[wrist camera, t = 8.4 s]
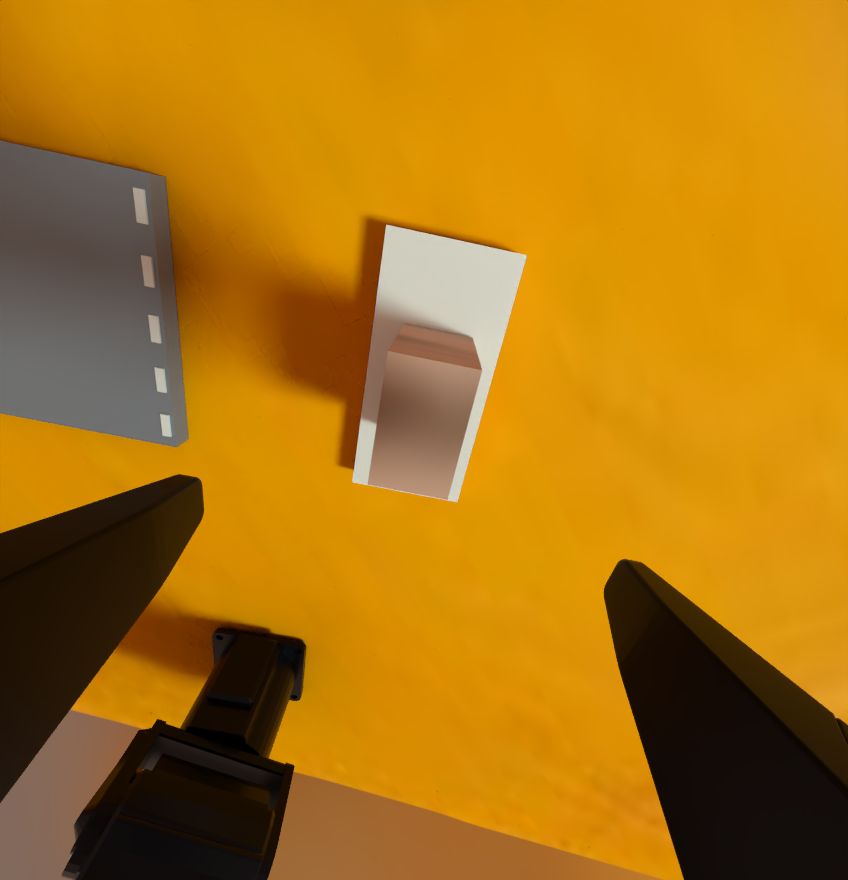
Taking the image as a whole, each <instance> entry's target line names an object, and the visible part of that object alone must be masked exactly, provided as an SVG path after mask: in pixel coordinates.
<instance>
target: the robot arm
mask: <svg viewBox="0 0 848 880" xmlns="http://www.w3.org/2000/svg"><path fill="white" fill-rule="evenodd" d="M203 514H204V502H203V489H202V482H201V480H200V479H199V478H197V477H192V476H187V475H181V474H179V475H175V476H172V477H169V478H166V479H163V480H160V481H157V482H154V483H151V484H148V485H145V486H142V487H139V488H135V489H132V490H129V491H126V492H123V493H120V494H117V495H114V496H111V497H108V498H105V499H102V500H99V501H96V502H93V503H90V504H87V505H84V506H81V507H78V508H75V509H72V510H69V511H66V512H63V513H60V514H57V515H54V516H51V517H48V518H45V519H42V520H39V521H36V522H33V523H30V524H27V525H24V526H21V527H18V528H15V529H12V530H9V531H6V532H3V533H0V803H1V801H2V800H3V798H4V797H5V796H6V795H7V793H8V792H9V791H10V789H11V788H12V787H13V785H14V784H15V783H16V781H17V780H18V779H19V777H20V776H21V775H22V773H23V772H24V771H25V769H26V768H27V767H28V765H29V764H30V762H31V761H32V760H33V758H34V757H35V755H36V754H37V753H38V752H39V750H40V749H41V748H42V746H43V745H44V744H45V742H46V741H47V740H48V738H49V737H50V736H51V734H52V733H53V732H54V730H55V729H56V728H57V726H58V725H59V724H60V722H61V721H62V720H63V718H64V717H65V716H66V714H67V713H68V712H69V710H70V709H71V708H72V706H73V705H74V704H75V702H76V701H77V700H78V698H79V697H80V695H81V694H82V693H83V691H84V690H85V689H86V687H87V686H88V685H89V683H90V682H91V681H92V679H93V678H94V677H95V675H96V674H97V673H98V671H99V670H100V669H101V667H102V666H103V665H104V663H105V662H106V661H107V659H108V658H109V657H110V655H111V654H112V653H113V651H114V650H115V649H116V647H117V646H118V645H119V643H120V642H121V641H122V639H123V638H124V637H125V635H126V634H127V632H128V631H129V630H130V628H131V627H132V626H133V624H134V623H135V622H136V620H137V619H138V618H139V616H140V615H141V614H142V612H143V611H144V610H145V608H146V607H147V606H148V604H149V603H150V602H151V600H152V599H153V598H154V596H155V595H156V593H157V592H158V591H159V589H160V588H161V586H162V585H163V583H164V582H165V580H166V579H167V577H168V576H169V574H170V572H171V571H172V569H173V567H174V566H175V564H176V562H177V561H178V559H179V557H180V556H181V554H182V552H183V550H184V549H185V547H186V545H187V544H188V542H189V540H190V539H191V537H192V535H193V534H194V532H195V530H196V529H197V527H198V525H199V524H200V522H201V520H202V517H203ZM604 600H605V605H606V609H607V614H608V619H609V624H610V629H611V634H612V639H613V644H614V649H615V653H616V658H617V662H618V666H619V670H620V674H621V677H622V681H623V684H624V687H625V690H626V694H627V697H628V700H629V703H630V707H631V710H632V713H633V716H634V719H635V723H636V726H637V729H638V732H639V736H640V739H641V742H642V745H643V749H644V752H645V755H646V758H647V762H648V765H649V768H650V771H651V774H652V778H653V781H654V784H655V787H656V791H657V794H658V797H659V800H660V804H661V807H662V810H663V813H664V817H665V820H666V823H667V826H668V830H669V833H670V836H671V839H672V842H673V846H674V849H675V852H676V855H677V859H678V862H679V865H680V868H681V872H682V875H683V878H684V880H848V725H847V724H846V723H845V722H843V721H842V720H841V719H839V718H835V716H834V714H833V713H832V712H830V711H829V710H828V709H827V708H825V707H824V706H823V705H822V704H820V703H819V702H818V701H817V700H815V699H814V698H813V697H811V696H810V695H809V694H808V693H806V692H805V691H804V690H803V689H801V688H800V687H799V686H798V685H796V684H795V683H794V682H792V681H791V680H790V679H789V678H787V677H786V676H785V675H784V674H782V673H781V672H780V671H779V670H777V669H776V668H775V667H774V666H772V665H771V664H770V663H768V662H767V661H766V660H765V659H763V658H762V657H761V656H760V655H758V654H757V653H756V652H755V651H753V650H752V649H751V648H749V647H748V646H747V645H746V644H744V643H743V642H742V641H741V640H739V639H738V638H737V637H736V636H734V635H733V634H732V633H731V632H729V631H728V630H727V629H725V628H724V627H723V626H722V625H720V624H719V623H718V622H717V621H715V620H714V619H713V618H712V617H710V616H709V615H708V614H707V613H705V612H704V611H703V610H701V609H700V608H699V607H698V606H696V605H695V604H694V603H693V602H691V601H690V600H689V599H688V598H686V597H685V596H684V595H682V594H681V593H680V592H679V591H677V590H676V589H675V588H674V587H672V586H671V585H670V584H669V583H667V582H666V581H665V580H664V579H662V578H661V577H660V576H658V575H657V574H656V573H655V572H653V571H652V570H651V569H650V568H648V567H647V566H646V565H645V564H643V563H641V562H638V561H633V560H627V559H622V560H620V561H619V562H618V563H617V565H616V567H615V568H614V570H613V572H612V574H611V576H610V577H609V579H608V581H607V583H606V585H605V588H604ZM212 639H213V652H214V665H215V666H214V668H213V670H212V672H211V674H210V675H209V677H208V679H207V681H206V683H205V684H204V686H203V688H202V690H201V692H200V693H199V695H198V697H197V699H196V701H195V702H194V704H193V706H192V708H191V710H190V711H189V713H188V715H187V717H186V719H185V720H184V722H183V724H182V726H181V727H180V728H177V727H174V726H171V725H168V724H166V722H165V721H162V720H159V719H157V721H156V722H155V724H154V725H153V727H152V728H149V729H144V730H139V731H138V733H137V734H136V736H135V737H134V739H133V740H132V742H131V744H130V745H129V747H128V748H127V750H126V751H125V753H124V754H123V756H122V757H121V759H120V760H119V762H118V763H117V765H116V766H115V768H114V769H113V770H112V772H111V773H110V774H109V776H108V777H107V779H106V780H105V781H104V783H103V784H102V785H101V787H100V788H99V789H98V791H97V792H96V794H95V795H94V796H93V798H92V799H91V800H90V802H89V803H88V804H87V806H86V807H85V809H84V810H83V811H82V813H81V814H80V816H79V817H78V819H77V821H76V823H75V825H74V830H75V841H76V842H75V844H74V846H73V848H72V850H71V852H70V854H72V856H71V858H70V860H69V862H68V863H67V865H66V868H65V869H64V871H63V873H62V877H64V878H68V879H72V880H267V879H268V876H269V873H270V870H271V867H272V863H273V860H274V857H275V853H276V849H277V845H278V841H279V836H280V832H281V827H282V822H283V817H284V813H285V808H286V803H287V799H288V794H289V789H290V784H291V780H292V775H293V771H294V765H292V764H289V763H286V764H283V763H280V762H277V761H274V760H271V759H268V758H269V755H270V753H271V750H272V747H273V744H274V741H275V738H276V735H277V733H278V730H279V727H280V724H281V721H282V718H283V715H284V713H285V710H286V707H287V704H288V701H289V700H292V701H298V700H300V698H301V695H302V691H303V679H304V668H305V657H306V645H305V644H304V643H303V642H299V641H294V640H288V639H282V638H276V637H271V636H265V635H259V634H254V633H248V632H242V631H237V630H231V629H225V628H217V629H216V630H215V632H214V633H213V636H212ZM143 769H144V770H143ZM142 770H143V771H142Z"/></svg>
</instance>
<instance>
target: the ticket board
mask: <svg viewBox="0 0 848 880" xmlns="http://www.w3.org/2000/svg"><path fill="white" fill-rule="evenodd" d="M0 413H2V414H7V415H12V416H17V417H22V418H28V419H33V420H38V421H43V422H48V423H54V424H59V425H64V426H69V427H74V428H80V429H85V430H90V431H95V432H100V433H105V434H111V435H116V436H121V437H126V438H131V439H137V440H142V441H147V442H152V443H157V444H163V445H168V446H173V447H178V446H179V445H180V444H182V443H183V442H185V441H186V440H187V439H188V429H187V418H186V407H185V395H184V384H183V372H182V361H181V350H180V338H179V327H178V316H177V304H176V293H175V282H174V270H173V259H172V248H171V236H170V225H169V214H168V202H167V191H166V179H165V177H163V176H159V175H155V174H152V173H148V172H143V171H138V170H134V169H129V168H125V167H120V166H116V165H111V164H106V163H102V162H97V161H93V160H88V159H83V158H79V157H74V156H70V155H65V154H60V153H56V152H51V151H47V150H42V149H38V148H33V147H28V146H24V145H19V144H15V143H10V142H5V141H1V140H0Z"/></svg>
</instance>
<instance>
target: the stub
mask: <svg viewBox="0 0 848 880" xmlns="http://www.w3.org/2000/svg"><path fill="white" fill-rule="evenodd" d="M526 257H527V255H524V254H519V253H515V252H510V251H505V250H501V249H496V248H492V247H487V246H483V245H478V244H473V243H469V242H464V241H460V240H455V239H450V238H446V237H441V236H437V235H432V234H428V233H423V232H418V231H414V230H409V229H405V228H400V227H395V226H391V225H386V230H385V238H384V245H383V253H382V261H381V268H380V276H379V283H378V291H377V299H376V306H375V314H374V321H373V329H372V337H371V344H370V352H369V359H368V367H367V375H366V382H365V390H364V398H363V405H362V413H361V420H360V428H359V436H358V443H357V451H356V458H355V466H354V474H353V481H352V482H354V483H360V484H365V485H370V486H375V487H380V488H386V489H391V490H396V491H401V492H406V493H412V494H417V495H422V496H427V497H432V498H438V499H443V500H448V501H453V502H457V501H458V497H459V494H460V490H461V487H462V483H463V480H464V476H465V473H466V469H467V466H468V462H469V458H470V455H471V451H472V448H473V444H474V441H475V437H476V434H477V430H478V427H479V423H480V420H481V416H482V412H483V409H484V405H485V402H486V398H487V395H488V391H489V388H490V384H491V381H492V377H493V374H494V370H495V366H496V363H497V359H498V356H499V352H500V349H501V345H502V342H503V338H504V335H505V331H506V328H507V324H508V320H509V317H510V313H511V310H512V306H513V303H514V299H515V296H516V292H517V289H518V285H519V282H520V278H521V274H522V271H523V267H524V264H525V260H526Z"/></svg>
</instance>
